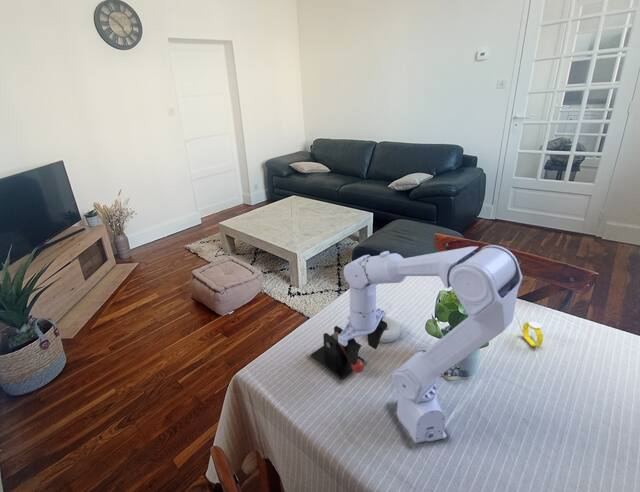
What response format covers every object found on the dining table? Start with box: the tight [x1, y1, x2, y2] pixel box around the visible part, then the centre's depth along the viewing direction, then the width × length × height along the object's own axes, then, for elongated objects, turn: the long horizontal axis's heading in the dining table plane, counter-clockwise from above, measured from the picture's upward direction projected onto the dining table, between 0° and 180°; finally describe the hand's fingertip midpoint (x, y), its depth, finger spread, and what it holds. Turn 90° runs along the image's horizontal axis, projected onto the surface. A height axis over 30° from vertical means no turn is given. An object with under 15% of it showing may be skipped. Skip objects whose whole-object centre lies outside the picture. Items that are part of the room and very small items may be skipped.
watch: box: [521, 320, 544, 347], centre depth 89 cm, size 6×3×6 cm, turn 178°
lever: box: [330, 332, 365, 374], centre depth 85 cm, size 11×3×3 cm, turn 38°
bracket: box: [310, 325, 365, 381], centre depth 88 cm, size 11×9×9 cm
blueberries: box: [442, 367, 465, 382], centre depth 83 cm, size 7×8×2 cm
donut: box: [379, 316, 402, 344], centre depth 98 cm, size 10×4×10 cm
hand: (362, 354), depth 81 cm, fingers open, 7 cm apart
